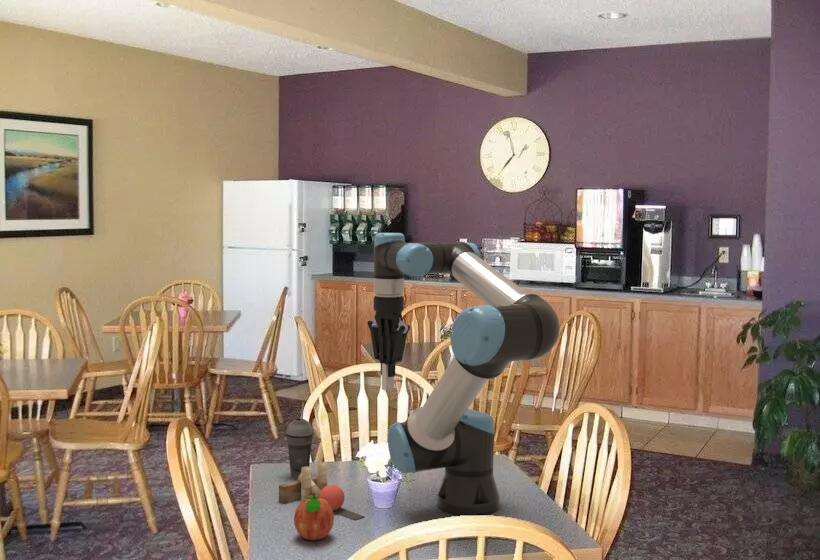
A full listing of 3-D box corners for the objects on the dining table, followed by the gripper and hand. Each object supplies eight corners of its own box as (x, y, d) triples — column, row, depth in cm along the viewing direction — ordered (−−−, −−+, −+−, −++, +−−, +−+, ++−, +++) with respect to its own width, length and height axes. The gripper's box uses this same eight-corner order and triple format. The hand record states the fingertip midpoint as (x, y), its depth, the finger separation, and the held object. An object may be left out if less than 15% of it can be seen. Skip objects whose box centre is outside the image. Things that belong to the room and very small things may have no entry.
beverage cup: (298, 470, 244) (299, 398, 242) (319, 476, 240) (319, 402, 238) (279, 477, 238) (280, 403, 237) (300, 482, 234) (300, 407, 232)
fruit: (334, 530, 201) (335, 486, 200) (332, 546, 192) (332, 500, 191) (296, 530, 201) (296, 486, 200) (291, 546, 192) (291, 500, 191)
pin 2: (328, 498, 222) (328, 463, 221) (323, 501, 220) (324, 465, 219) (320, 497, 223) (320, 461, 222) (315, 500, 221) (315, 464, 220)
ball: (334, 483, 218) (343, 506, 217) (312, 492, 216) (321, 516, 214) (342, 479, 213) (351, 503, 212) (319, 488, 210) (329, 512, 209)
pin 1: (313, 503, 218) (313, 467, 218) (308, 506, 216) (308, 469, 215) (304, 502, 219) (304, 465, 219) (299, 505, 217) (299, 468, 216)
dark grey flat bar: (364, 517, 210) (364, 516, 210) (355, 520, 207) (355, 519, 207) (335, 506, 216) (335, 505, 216) (326, 509, 214) (326, 508, 214)
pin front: (329, 497, 218) (307, 472, 223) (323, 497, 216) (301, 472, 221) (323, 504, 218) (302, 479, 223) (317, 505, 216) (296, 479, 221)
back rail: (316, 490, 228) (316, 475, 228) (321, 492, 227) (321, 476, 226) (278, 501, 220) (278, 485, 219) (283, 503, 218) (283, 487, 218)
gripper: (418, 296, 221) (416, 391, 224) (381, 292, 230) (380, 383, 233) (396, 298, 216) (395, 395, 218) (359, 294, 225) (358, 387, 227)
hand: (387, 389), depth 225 cm, fingers closed
